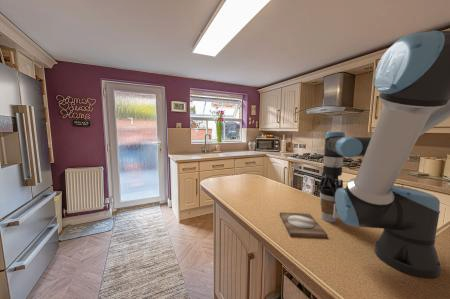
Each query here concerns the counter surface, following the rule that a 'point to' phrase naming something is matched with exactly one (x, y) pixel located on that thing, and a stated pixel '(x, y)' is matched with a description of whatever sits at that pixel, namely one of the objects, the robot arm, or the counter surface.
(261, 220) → the counter surface
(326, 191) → the coffee cup
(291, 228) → the board
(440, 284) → the counter surface
